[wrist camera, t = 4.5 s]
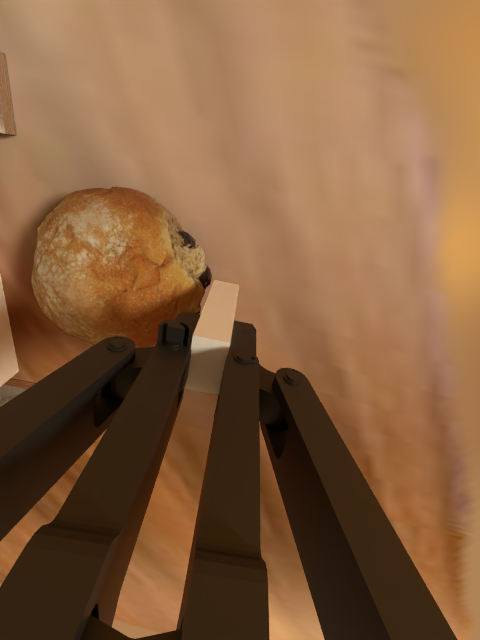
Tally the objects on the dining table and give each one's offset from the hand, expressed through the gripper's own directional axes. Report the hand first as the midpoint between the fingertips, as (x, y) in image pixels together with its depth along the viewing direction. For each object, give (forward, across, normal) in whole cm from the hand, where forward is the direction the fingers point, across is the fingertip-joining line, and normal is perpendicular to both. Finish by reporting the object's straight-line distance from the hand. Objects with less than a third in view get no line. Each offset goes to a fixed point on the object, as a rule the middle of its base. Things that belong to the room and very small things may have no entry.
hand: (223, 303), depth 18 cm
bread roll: (+3, +6, 0) cm, 7 cm away
